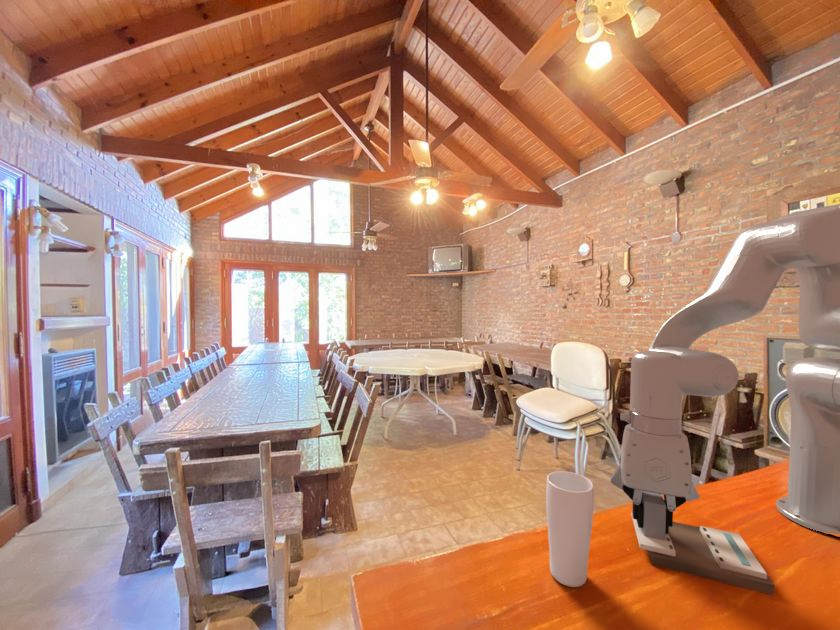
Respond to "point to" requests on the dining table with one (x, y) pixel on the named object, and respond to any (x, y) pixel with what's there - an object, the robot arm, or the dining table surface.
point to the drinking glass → (569, 525)
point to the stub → (654, 525)
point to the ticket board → (714, 557)
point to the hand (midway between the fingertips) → (651, 525)
